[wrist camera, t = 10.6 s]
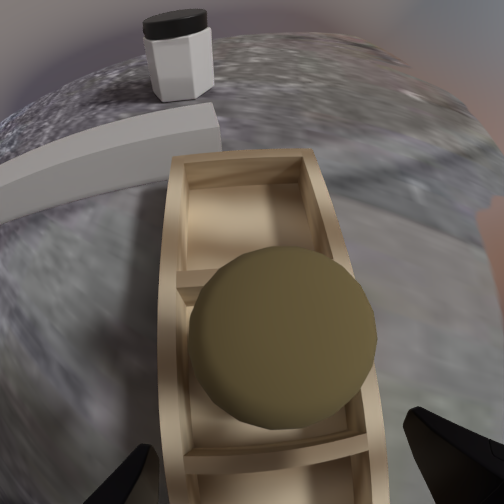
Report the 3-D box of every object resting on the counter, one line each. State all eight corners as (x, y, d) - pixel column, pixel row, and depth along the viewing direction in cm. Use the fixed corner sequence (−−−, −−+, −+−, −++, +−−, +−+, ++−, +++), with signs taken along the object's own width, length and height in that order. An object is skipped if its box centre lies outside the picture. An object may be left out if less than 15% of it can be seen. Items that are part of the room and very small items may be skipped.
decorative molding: (0, 196, 29) (-30, 239, 22) (-11, 170, 25) (-46, 210, 18) (215, 138, 33) (224, 174, 25) (211, 102, 29) (219, 126, 22)
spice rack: (364, 550, 9) (387, 571, 5) (202, 572, 8) (193, 599, 5) (304, 182, 25) (312, 148, 21) (180, 190, 24) (172, 156, 21)
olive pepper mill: (334, 369, 16) (445, 307, 6) (265, 442, 13) (296, 504, 4) (263, 306, 18) (281, 178, 8) (191, 371, 15) (109, 313, 6)
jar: (180, 74, 38) (173, 9, 27) (223, 81, 36) (221, 7, 25) (142, 99, 33) (126, 25, 23) (186, 107, 32) (175, 21, 21)
